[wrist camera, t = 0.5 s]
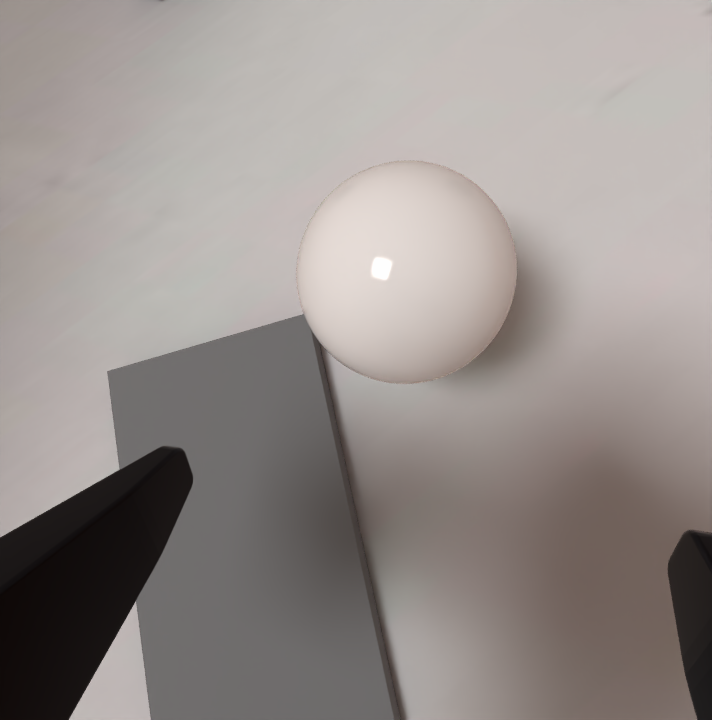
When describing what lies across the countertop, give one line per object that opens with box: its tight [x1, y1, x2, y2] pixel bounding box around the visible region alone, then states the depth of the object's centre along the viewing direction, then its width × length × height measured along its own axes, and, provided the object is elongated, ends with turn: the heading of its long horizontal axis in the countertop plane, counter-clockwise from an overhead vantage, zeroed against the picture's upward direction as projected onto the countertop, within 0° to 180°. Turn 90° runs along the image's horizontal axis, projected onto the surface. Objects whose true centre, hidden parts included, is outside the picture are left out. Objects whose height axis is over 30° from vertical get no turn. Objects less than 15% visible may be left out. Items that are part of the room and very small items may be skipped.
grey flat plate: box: [107, 314, 401, 720], centre depth 21 cm, size 18×11×1 cm, turn 13°
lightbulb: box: [296, 161, 517, 384], centre depth 16 cm, size 6×6×11 cm
